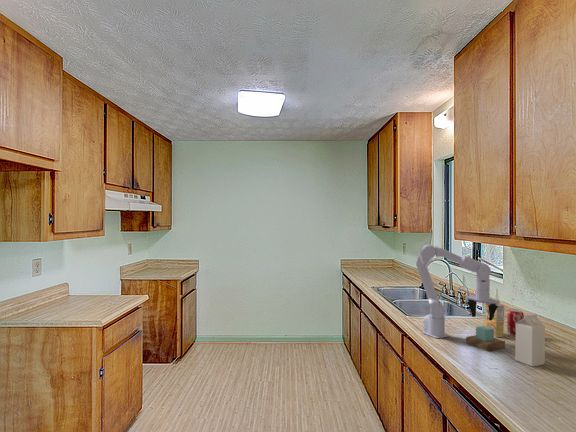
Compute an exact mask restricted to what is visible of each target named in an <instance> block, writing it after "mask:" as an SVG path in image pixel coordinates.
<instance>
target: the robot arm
mask: <svg viewBox="0 0 576 432" xmlns="http://www.w3.org/2000/svg"><path fill="white" fill-rule="evenodd" d="M434 257H435V258H439V257H443V258H445V259H448V260H451V261H453V262H456V263H458V265H459V267H460V268H462V269H465V270H466V271H469V272H470V273H476V279H475V296H471V295H466V296H465V300H466V304H467V305H468V307H469V310H470V312H471V316H472V317H473V318H475V317H476V315H477V312H476V311H477V304H478V303H482V304H485V305H486V304H490V305H488V308H489V320H490V321H491V320H493V316H494V313H495V311H496V309H497V308H498V306H499V305H500V304H501V301H500V300H495V299H491V298H490V292H491V291H490V285H491V284H490V282H491V281H490V278H491V277H490V276H491V273H492V270H491V267H490V266H488V265H487V264H486V263H485V262H482V261H481V260H476V259H474V258H472V256H470V255H463V256H459V255H457V254H455V253H453V252H451V251H449V250H446V249H444V248H443V247H439V246H435V245H432V244H430V243H429V244H424V245H423V246H422V247H421V248H420V250H419V253H418V256H417V259H416V263H415V264H416V269H417V271H418V274H419V277H420V280H421V283H422V286H423V288H424V291H425V294H426V297H427V300H428V304H429V314H426V315H425V316H424V318H423V331H422V332H421V333H423V334H424V335H427V336H429V337H432V338H435V339H442V338H447V337H449V334H446V333H445V331H446V330H445V325H446V321H445V319H446V317H445V310H444V305H443V303H441V301H440V300H439V298H438V294H437V292H436V289H435V286H434V283H433V280H432V277H431V275H430V272H429V268H428V267H427V265H428V264H429V262H430V261H431V260H432V259H433V258H434Z"/></svg>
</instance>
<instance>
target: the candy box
mask: <svg viewBox="0 0 576 432" xmlns="http://www.w3.org/2000/svg"><path fill="white" fill-rule="evenodd" d="M488 305H490V304H486V303H485V321H484V323H485V324H484V326H486V327H489V328H492V329H494V338H504V327H505V325H504V324H505V305H503V304H501V303H500V305H499V306H498V308H497V309H496V311H495V313H494V316H493V320H491V321H490V320H489V308H488Z"/></svg>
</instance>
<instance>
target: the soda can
mask: <svg viewBox="0 0 576 432" xmlns="http://www.w3.org/2000/svg"><path fill="white" fill-rule="evenodd" d="M506 315H507V316H506V320H507V321H506V327H507V328H506V329H507V333H508V334H509V333H510V334H509V335H511V336H514V335H515V337H516V323H517V322H519V321H520V320H522V319H523V318H524V312H523V310H522V309H517V308H509V309H508V311H507V314H506Z"/></svg>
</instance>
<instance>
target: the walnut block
mask: <svg viewBox="0 0 576 432" xmlns="http://www.w3.org/2000/svg"><path fill="white" fill-rule="evenodd" d="M465 337H466V339H465V341H466V342H465V344H466V345H469V346H472V347H475V348H477V349H479V350H483V351H485V352H492V351H497V350H498V351H499V350H502V349H506V341H505V340H503V339H500V338H497V337H494V340H492V341H483V340H480V339H478V338H476V334H475V335H470V336H465Z"/></svg>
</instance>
